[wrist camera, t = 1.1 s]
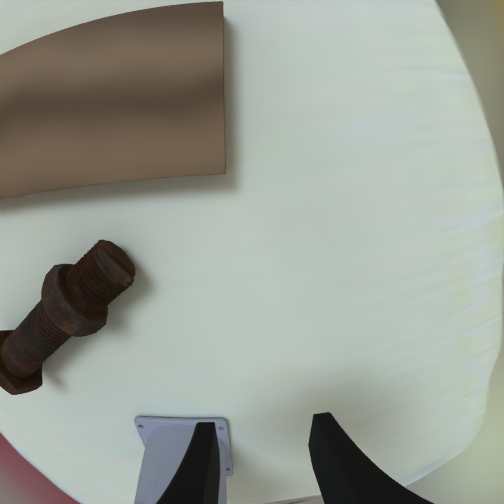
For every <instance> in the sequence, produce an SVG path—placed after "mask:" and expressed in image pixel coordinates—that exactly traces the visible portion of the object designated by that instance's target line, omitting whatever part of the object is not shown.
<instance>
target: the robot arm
mask: <svg viewBox="0 0 504 504" xmlns="http://www.w3.org/2000/svg"><path fill="white" fill-rule="evenodd" d="M134 422H135V425H136V427H137V430H138V432H139V434H140V437H141V439H142V442H143V444H144V446H145V451H144V456H143V460H142V465H141V470H140V475H139V480H138V486H137V491H136V496H135V502H134V504H227V496H226V476H231V475H233V467H232V459H231V452H230V444H229V436H228V427H227V421H226V420H225V419H223V418H207V419H192V418H158V417H142V416H137V417H135V420H134ZM308 446H309V451H310V457H311V462H312V467H313V470H314V473H315V476H316V479H317V482H318V485H319V488H320V491H321V494H322V497H323V500H324V503H325V504H434V503H432V502H429V501H428V500H425V499H423V498H422V497H420V496H418V495H417V494H415V493H413V492H411V491H410V490H408V489H406V488H405V487H403V486H402V485H400V484H399V483H398V482H396V481H395V480H393V479H392V478H391V477H389V476H388V475H387V474H386V473H384V472H383V471H382V470H381V469H380V468H379V467H377V466H376V465H375V464H374V463H373V462H372V461H371V460H370V459H369V458H368V457H367V456H366V455H365V454H364V453H363V452H362V451H361V450H360V449H359V448H358V447H357V445H356V444H355V443H354V442H353V441H352V440H351V439H350V437H349V436H348V435H347V434H346V433H345V431H344V430H343V429H342V428H341V426H340V425H339V424H338V422H337V421H336V420H335V418H334V417H333V416H332V414H331V413H330V412H326V413H320V414H314V415H313V421H312V427H311V432H310V438H309V444H308Z"/></svg>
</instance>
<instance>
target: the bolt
mask: <svg viewBox="0 0 504 504" xmlns="http://www.w3.org/2000/svg"><path fill="white" fill-rule="evenodd" d="M134 276H135V267H134V264H133V263H132V262H131V260H130V259H129V258H128V256H127V255H126V254H125V253H124V251H123V250H122V249H121V248H120V247H118V246H117V245H115V244H114V243H112V242H110V241H105V240H99V241H98V243H97V244H95V245H94V247H92V248H91V250H89V251H88V252H87V254H85V255H84V257H82V258H81V259H80V260H79V261H78V262H77V263H76V264H75V265H73V264H59V265H54V267H53V268H52V269H51V270H50V271H49V272H48V273H47V274H46V276H45V279H44V283H43V287H42V292H41V298H42V299H41V301H40V302H39V303H38V304H37V305H36V307H34V309H33V310H32V311H31V312H30V313H29V314H28V315H27V317H26V318H25V319H24V320H23V321H22V323H21V324H20V325H19V326H18V327H17V328H16V329H15V330H4V331H0V386H1V387H2V388H3V389H4V390H5V391H7V392H8V393H10V394H11V395H17V394H23V393H27V392H30V391H33V390H36V389H38V388H39V387H40V386H41V385H42V363H43V362H44V361H45V360H46V359H47V358H48V357H49V356H50V355H52V354H53V353H54V352H55V351H56V350H57V349H58V348H59V347H60V346H61V345H62V344H64V343H65V342H66V341H67V340H68V339H69V338H70V337H71V336H75V337H81V336H86V335H90V334H93V333H96V332H97V331H99V330H100V329H101V328H102V327H103V326H105V325H106V321H107V315H108V307H107V305H108V304H109V303H110V302H112V301H113V300H114V299H115V298H116V297H117V296H119V295H120V294H121V293H122V292H123V291H125V289H127V288H128V287H129V286H131V285H132V284H133V283H132V282H133V281H134Z"/></svg>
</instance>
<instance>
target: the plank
mask: <svg viewBox="0 0 504 504" xmlns="http://www.w3.org/2000/svg"><path fill="white" fill-rule="evenodd" d="M225 173H226V163H225V123H224V51H223V1H218V2H201V3H189V4H179V5H170V6H163V7H156V8H149V9H143V10H138V11H133V12H127V13H123V14H118V15H114V16H109V17H105V18H101V19H97V20H93V21H90V22H86V23H83V24H79V25H76V26H73V27H70V28H67V29H63V30H60V31H58V32H55V33H52V34H49V35H46V36H44V37H41V38H38V39H36V40H33V41H31V42H28V43H26V44H24V45H21V46H19V47H17V48H15V49H12V50H10V51H8V52H6V53H4V54H2V55H0V199H4V198H9V197H15V196H20V195H26V194H32V193H38V192H44V191H50V190H57V189H64V188H71V187H78V186H86V185H94V184H102V183H111V182H120V181H130V180H141V179H152V178H165V177H178V176H194V175H213V174H225Z"/></svg>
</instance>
